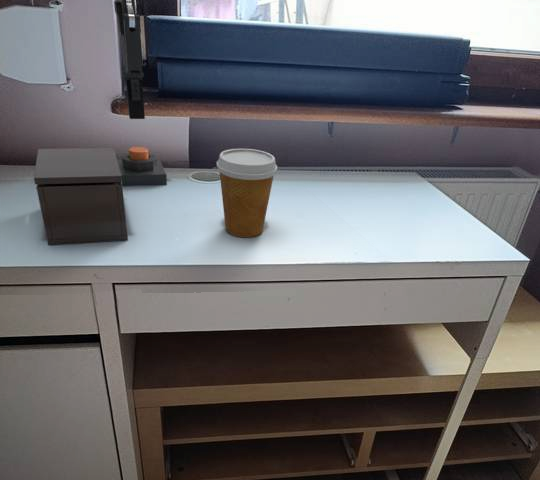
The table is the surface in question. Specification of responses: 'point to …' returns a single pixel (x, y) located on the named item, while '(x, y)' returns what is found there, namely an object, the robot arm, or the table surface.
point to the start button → (138, 153)
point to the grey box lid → (76, 166)
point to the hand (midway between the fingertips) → (137, 117)
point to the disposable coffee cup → (245, 189)
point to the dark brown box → (83, 212)
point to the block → (142, 171)
